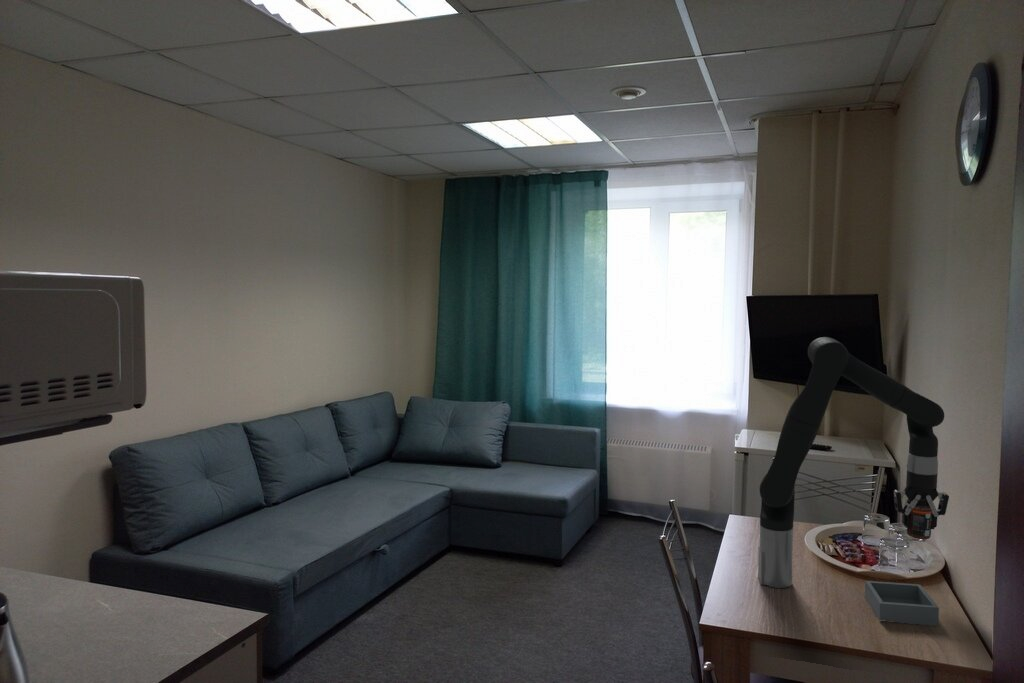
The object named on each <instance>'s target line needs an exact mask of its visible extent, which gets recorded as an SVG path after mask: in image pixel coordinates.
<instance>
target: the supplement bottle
mask: <svg viewBox="0 0 1024 683" xmlns="http://www.w3.org/2000/svg"><path fill="white" fill-rule="evenodd" d="M909 515H910V520H909V528H906V535H907V536H909V537H911V538H913V539H917V540H928V539H930V538H931V535H932V529H931V521H932V510H931V508H930V506H929V505H928V502H927V500H926V499H919V501H918V502H917V504H916V505H915V507H914V508H913V509H912V510H911V512H910V513H909Z"/></svg>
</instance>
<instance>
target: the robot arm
mask: <svg viewBox="0 0 1024 683" xmlns="http://www.w3.org/2000/svg"><path fill="white" fill-rule="evenodd" d="M807 356H808V360H809V361H810V362H811V364H812V366H811V369H810V372H809V376H808V378H807V382H806V384H805V386H804V388H803V389H802V390H801V392H800V393H799V395H798V396H797V397H796V398H795V399H794V401H793V402H792V404H791V405H790V407H789V410H788V411H787V414H786V416H785V420H784V422H783V425H782V427H781V432H780V435H779V439H778V441H777V446H776V450H775V451H776V452H775V455H774V457H773V460H772V463H771V465H770V466H769V469H768V470H767V472H766V474H765V475H764V476H763V478H762V480H761V482H760V485H759V495H760V498H761V506H760V507H761V508H760V516H759V546H758V556H757V557H758V560H757V561H758V563H757V564H758V566H757V568H758V570H757V576H758V581H759V583H760V585H761V586H762V585H764V586H766V585H767V586H766V587H771V588H775V589H785V588H790V587H791V586H792V584H793V557H794V556H793V555H794V553H793V551H794V549H793V548H794V547H793V546H794V519H795V491H796V489H795V488H796V486H795V484H796V481H797V477H798V474H799V472H800V468H801V467H802V465H803V463H804V460H805V459H806V457H807V456H808V454H809V451H810V450H811V448H812V446H813V445H814V441H815V440H816V437H817V435H818V434H819V433H818V432H819V431H820V430H819V429H820V427H821V425H822V422H823V419H824V415H825V413H826V411H827V409H828V406H829V403H830V400H831V397H832V394H833V391H834V390H835V388H836V386H837V384H838V383H839V380H840V379H841V376H842V377H843V378H845V379H847V380H848V381H850V382H851V383H853V384H855V385H856V386H858V387H859V388H861V389H862V390H863V391H864V392H867V393H868V394H870V395H871V396H873V398H875V399H877V400H878V401H880V402H881V403H883V404H885V405H887V406H889V407H890V408H891V409H895V410H897V411H900V412H902V413H903V414H905V415H906V423H907V429H908V430H907V431H908V434H909V440H908V441H909V444H908V456H907V462H906V463H907V464H906V477H905V478H906V481H905V482H906V483H905V488H904V489H903V490H897V489H894V490H893V500H894V502H893V503H894V509H895V510H896V511H897V512H898V513H901V523H902V524H901V525H903V527H905V528H906V529H907V528H909V520H910V515H909V513H910V512H911V510H912V509H913V508H914V507H915V505H916V504H917V502H918V501H919V499H926V500H927V502H928V505H929V506H930V508H931V510H932V521H931V530H935V528H937V526H938V517H940V516H945V515H946V514H947V513H946V512H947V507H948V503H949V498H950V496H949V494H947V493H946V492H944V491H943V492H938V490H937V488H938V473H939V472H938V471H939V470H938V469H939V461H938V454H939V452H938V451H939V439H938V437H937V436H936V434H935V433H934V427H938V426H940V425H941V424H943V422H944V420H945V412H944V409H943V408H942V406H940V404H938V403H936V402H935V401H933V400H931V399H929V398H927V397H925V396H923V395H921V394H919V393H918V392H915V391H914V390H912V389H910V388H909V387H908V386H906V385H905V384H903V383H901V382H900V381H898V380H896V379H895V378H893V377H890V376H889V375H887V374H885V373H883V372H881V371H879V370H878V369H876V368H874V367H872V366H870V365H868V364H867V363H865V362H864V361H862V360H859V359H858V358H857V357H855V356H854V355H852V354H851V353H850V352H849V351H848V349H847V348H846V346H845V345H844V344H843V343H841V342H840V341H838V340H837V339H834V338H832V337H829V336H823V337H818V338H816V339H814V340H813V341H811V342H810V343H809V346H808V347H807ZM904 496H906V500H905V502H904V505H903V502H902V501H903V500H902V499H904ZM937 498H938V506H937V507H936V506H935V504H934V501H935V500H936V499H937Z"/></svg>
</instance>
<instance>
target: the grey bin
mask: <svg viewBox="0 0 1024 683" xmlns="http://www.w3.org/2000/svg"><path fill="white" fill-rule="evenodd" d="M864 587H865V588H864V599H865V600H866V602H867V604H868V603H869V604H868V605H869V607H870V606H871V607H870V609H871V608H872V609H873V610H872V609H871V610H872V612H873V611H874V612H873V614H874V613H875V614H876V615H875V614H874V615H875V616H877V617H878V618H877V617H876V618H877V620H878V619H879V620H885V621H893V622H900V623H899V624H904V623H908V624H907V625H916V624H919V625H920V626H929V627H930V626H931V627H933V626H934V627H939V616H940V615H939V614H940V613H939V612H940V607H939V606H938V605H937V604H936V602H935V601H934V600H933V598H931V596H930V594H928V592H927V591H926V590H925V589H924V587H922V585H921V584H917V583H903V582H902V583H901V582H890V581H887V582H885V581H875V580H874V581H873V580H865V582H864ZM879 620H878V621H879ZM919 625H918V626H919Z"/></svg>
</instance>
